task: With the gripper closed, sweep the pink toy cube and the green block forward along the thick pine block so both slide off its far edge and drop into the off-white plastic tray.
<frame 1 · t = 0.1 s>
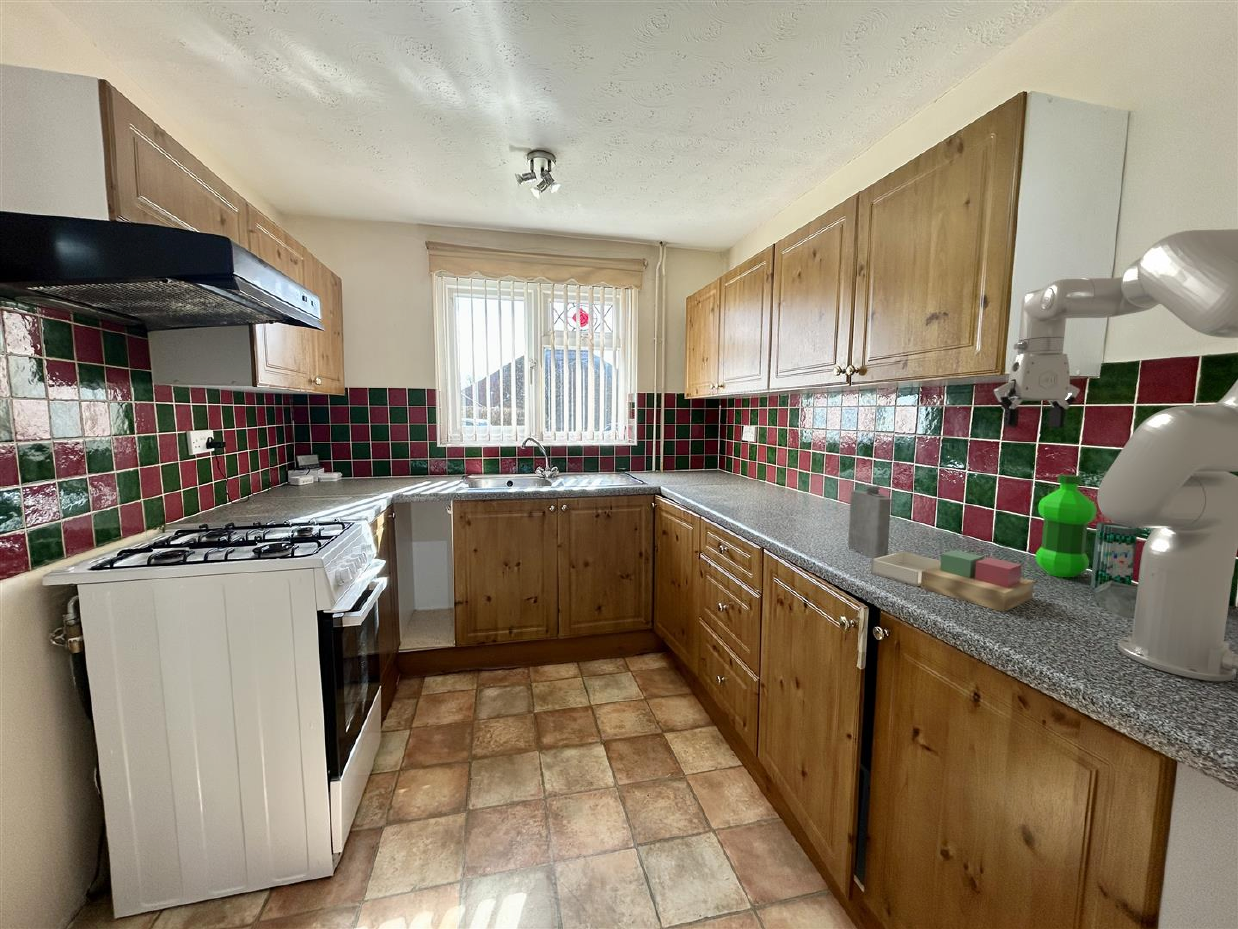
hand: (1033, 427, 107), 37 cm above the countertop, tool pointing down, fingers open, 9 cm apart
stone: (1129, 612, 98), on the countertop
green block: (961, 572, 110), point 4 cm above the countertop, touching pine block
hip flask: (867, 555, 138), on the countertop
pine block: (974, 593, 108), on the countertop
green printed upright box: (1109, 590, 110), on the countertop
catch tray: (908, 574, 121), on the countertop
pink toy cube: (997, 581, 104), point 4 cm above the countertop, touching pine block
plastic bottle: (1060, 575, 121), on the countertop
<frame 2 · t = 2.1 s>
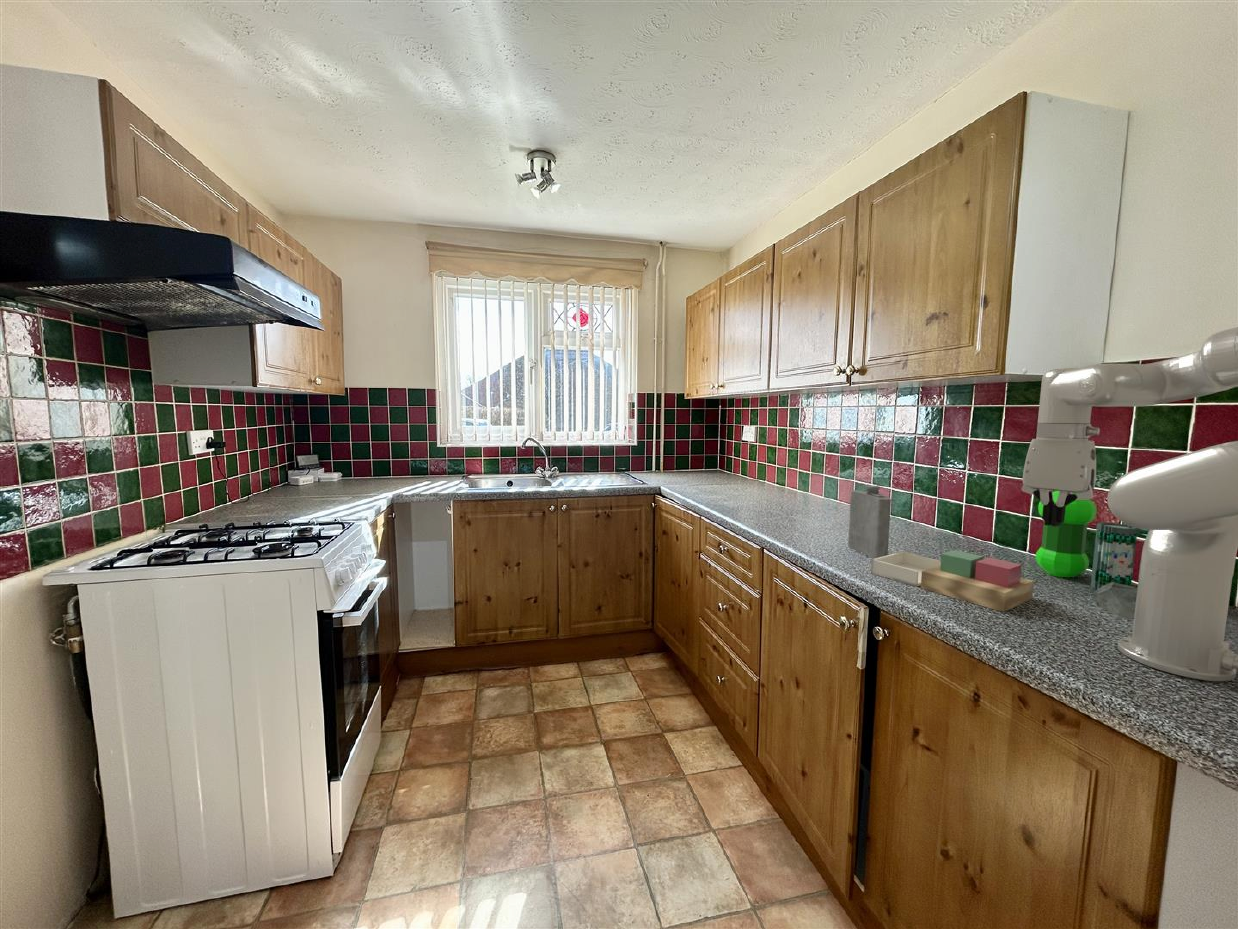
hand: (1052, 524, 96), 18 cm above the countertop, tool pointing down, fingers closed
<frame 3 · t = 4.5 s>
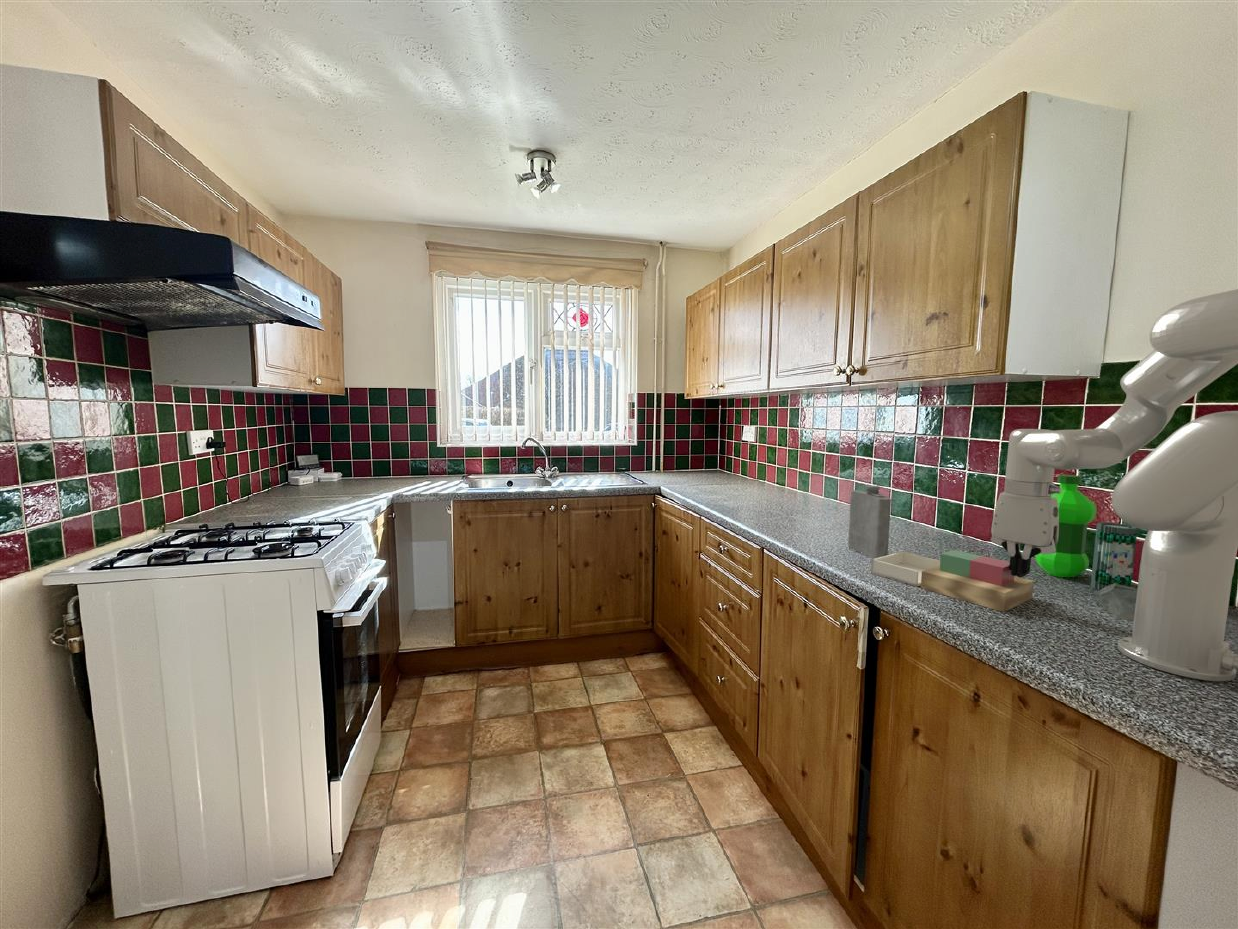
hand: (1018, 575, 101), 6 cm above the countertop, tool pointing down, fingers closed
green block: (960, 572, 110), point 4 cm above the countertop, touching pink toy cube, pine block
pink toy cube: (991, 579, 105), point 4 cm above the countertop, touching green block, gripper
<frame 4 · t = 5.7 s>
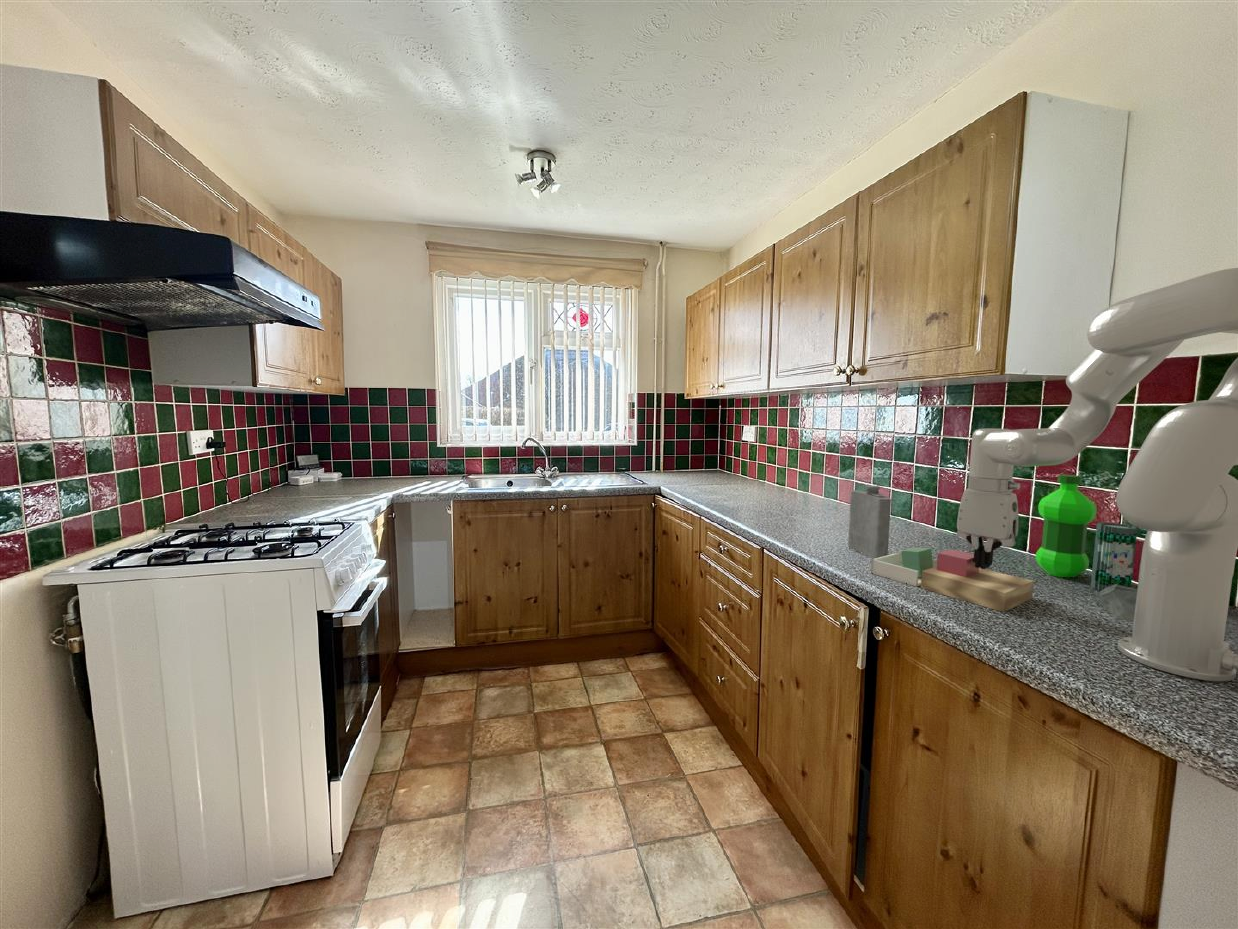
hand: (982, 567, 107), 6 cm above the countertop, tool pointing down, fingers closed
green block: (926, 562, 117), point 4 cm above the countertop, tilted 99°, touching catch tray
pink toy cube: (957, 571, 111), point 4 cm above the countertop, touching gripper, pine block
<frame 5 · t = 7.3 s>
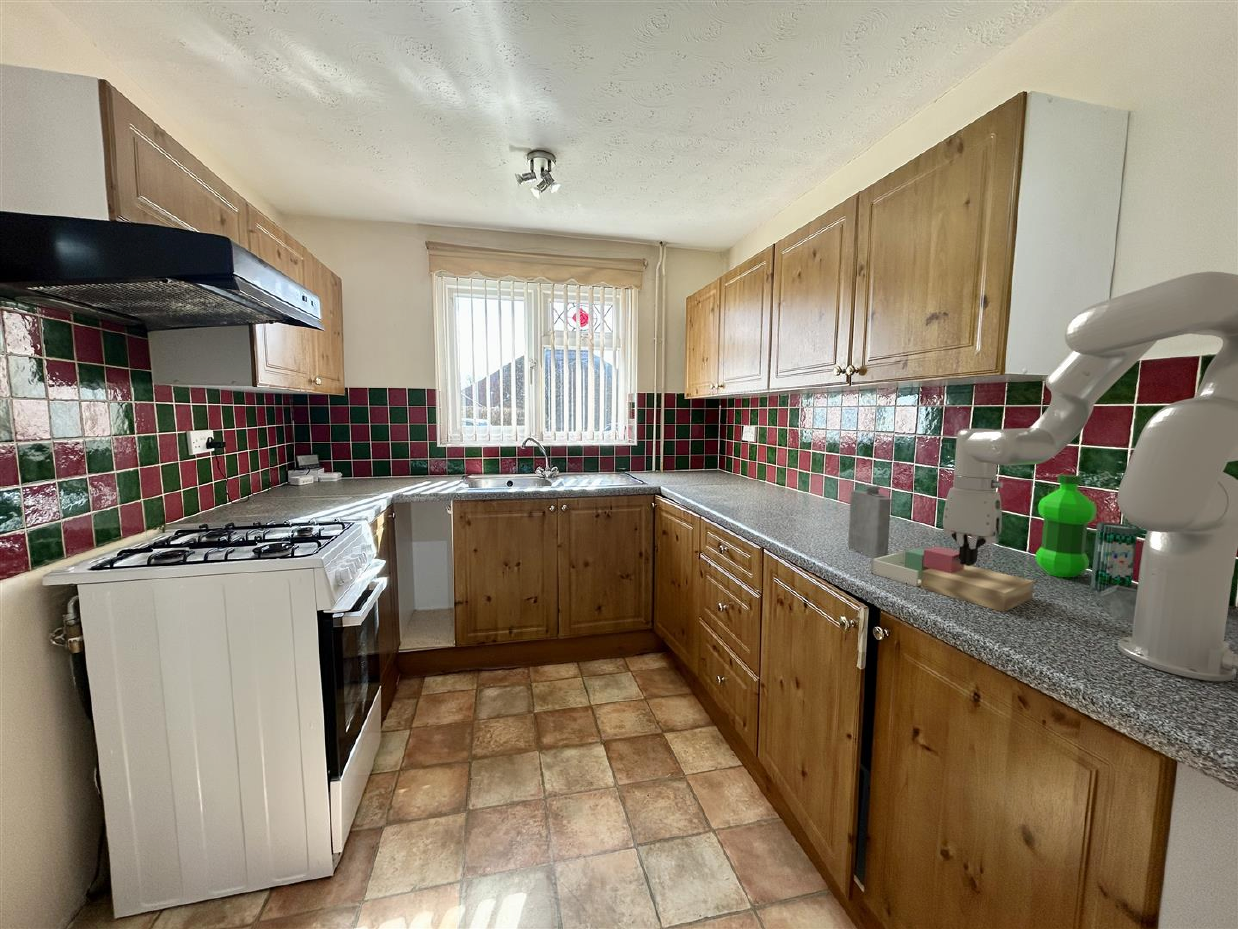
hand: (967, 564, 109), 6 cm above the countertop, tool pointing down, fingers closed
green block: (928, 565, 116), point 4 cm above the countertop, tilted 90°, touching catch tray
pink toy cube: (943, 567, 113), point 4 cm above the countertop
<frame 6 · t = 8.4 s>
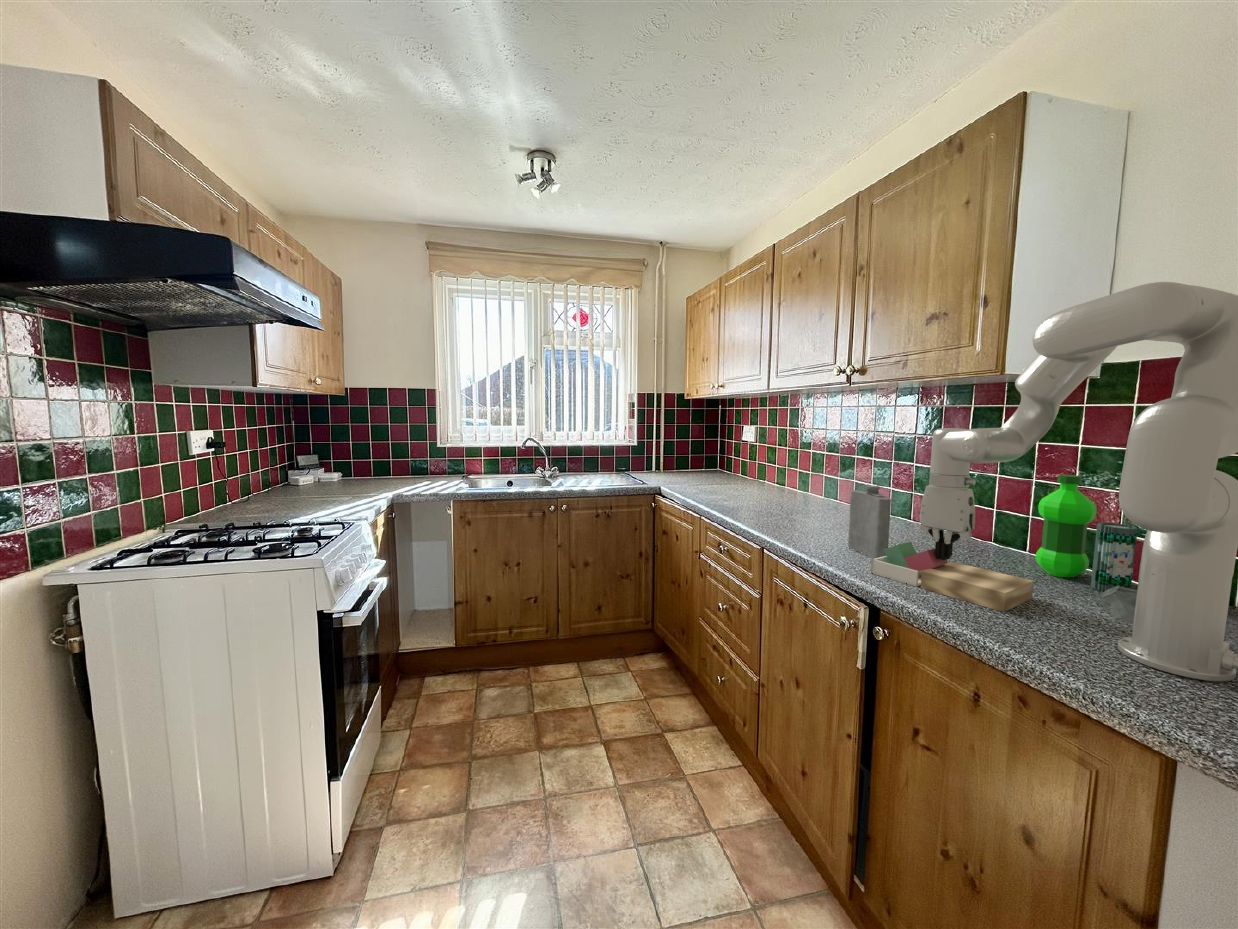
hand: (943, 558, 113), 6 cm above the countertop, tool pointing down, fingers closed
green block: (909, 554, 120), point 5 cm above the countertop, tilted 121°, touching pink toy cube, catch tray
pink toy cube: (929, 568, 116), point 3 cm above the countertop, tilted 31°, touching green block, gripper
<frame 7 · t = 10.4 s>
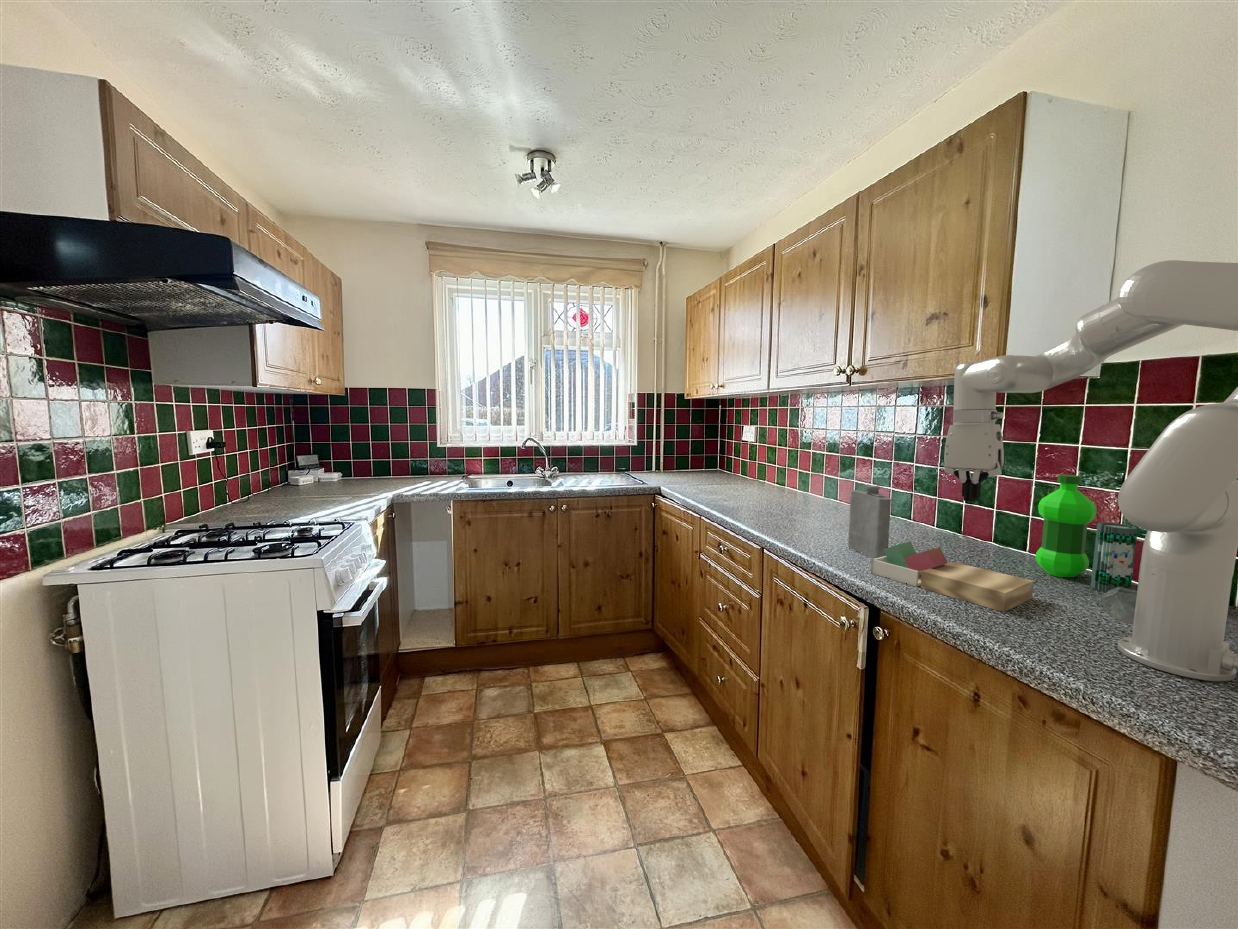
hand: (970, 500, 108), 21 cm above the countertop, tool pointing down, fingers closed
pink toy cube: (929, 568, 116), point 3 cm above the countertop, tilted 31°, touching green block, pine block
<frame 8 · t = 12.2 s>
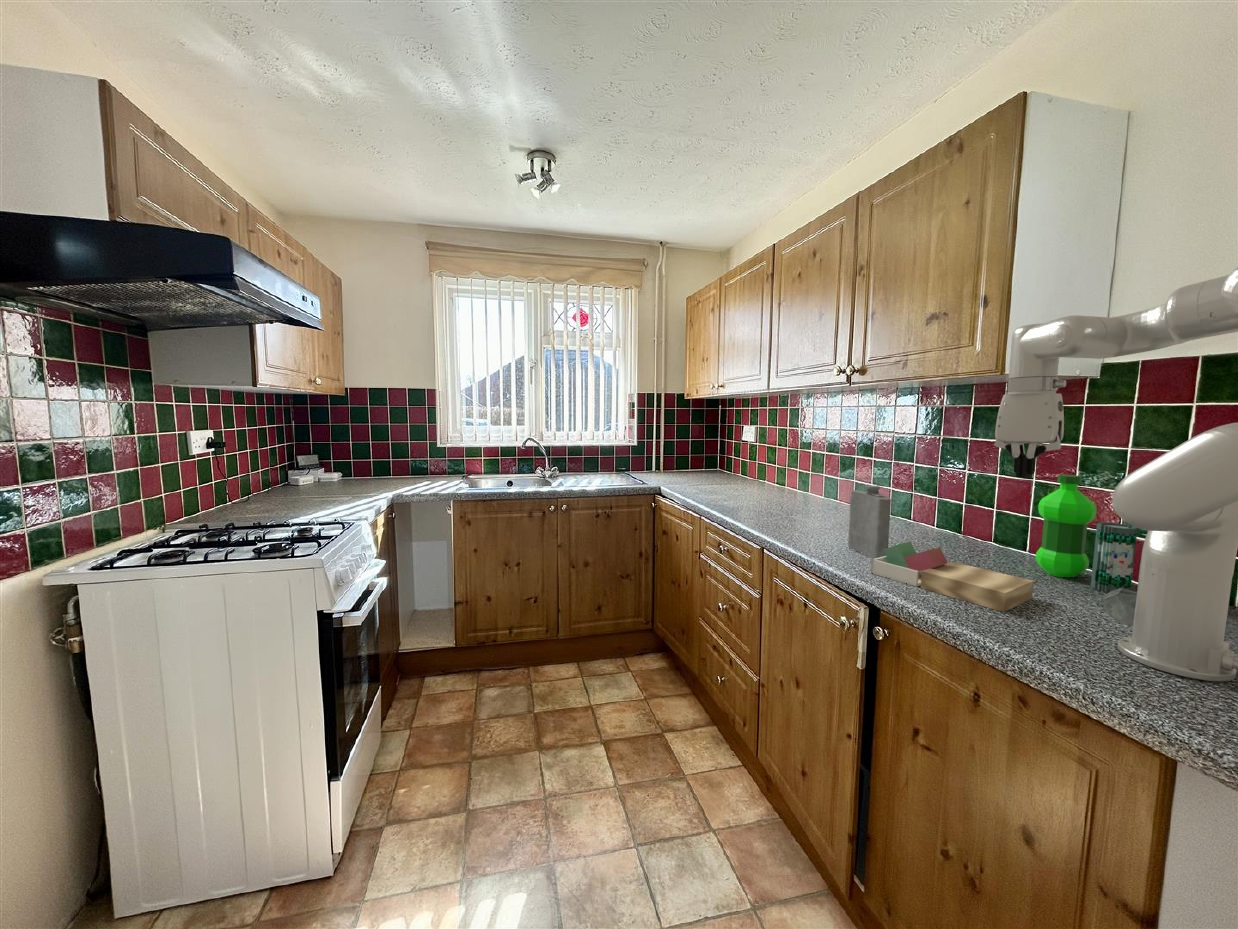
hand: (1023, 476, 99), 27 cm above the countertop, tool pointing down, fingers closed
at the end: pink toy cube inside the target area on the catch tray (4.8 cm from its centre), point 3.0 cm above the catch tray's base; green block inside the target area on the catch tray (0.1 cm from its centre), point 5.2 cm above the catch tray's base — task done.
